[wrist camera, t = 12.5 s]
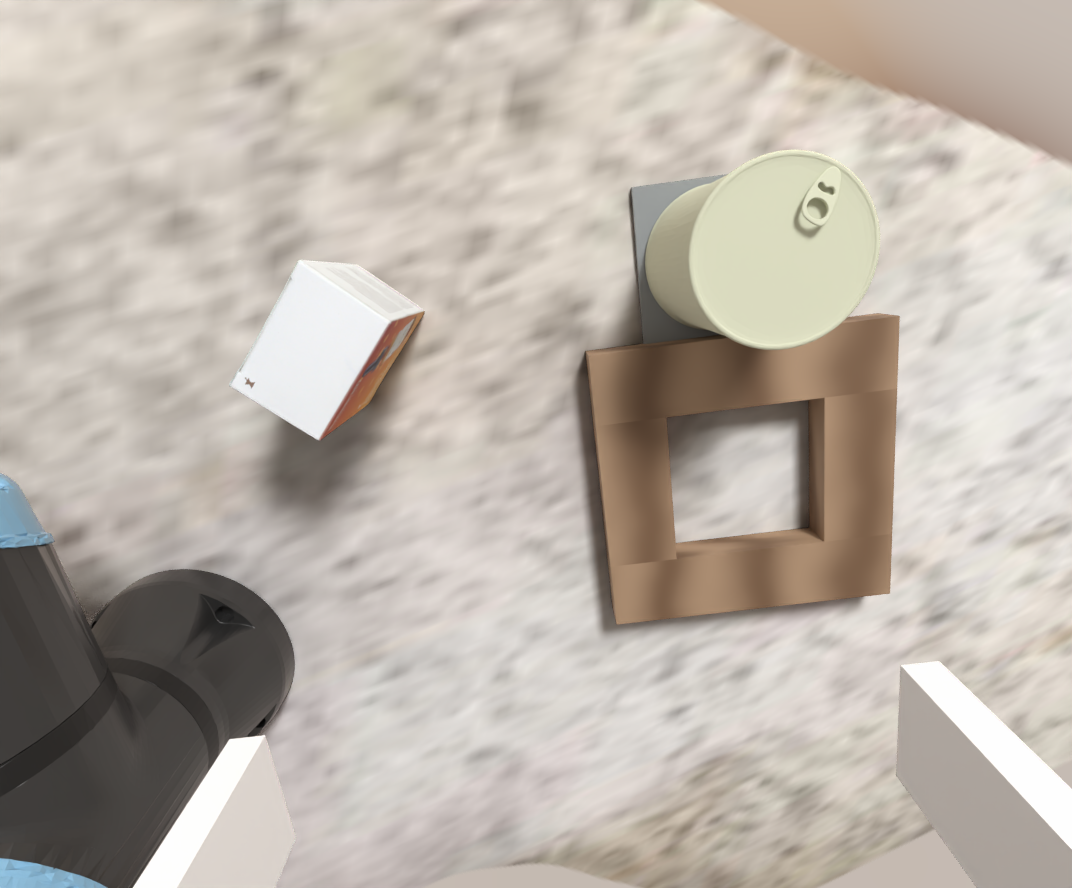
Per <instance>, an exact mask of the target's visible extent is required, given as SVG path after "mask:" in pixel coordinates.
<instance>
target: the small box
mask: <svg viewBox="0 0 1072 888" xmlns="http://www.w3.org/2000/svg"><path fill="white" fill-rule="evenodd" d="M424 312H425V311H424V310H423V309H422V308H421V307H419V306H418V305H416V304H415V303H414V302H412V301H411V300H409V299H408V298H406V297H405V296H403V295H402V294H400V293H399V292H397V291H396V290H394V289H393V288H391V287H390V286H389V285H387V284H386V283H384V282H383V281H381V280H380V279H378V278H377V277H375V276H374V275H372V274H371V273H369V272H368V271H366V270H365V269H363V268H362V267H360V266H359V265H357V264H345V263H335V262H321V261H308V260H298V261H297V263H296V265H295V267H294V269H293V271H292V273H291V276H290V278H289V280H288V282H287V284H286V286H285V288H284V290H283V291H282V293H281V295H280V297H279V299H278V301H277V302H276V304H275V306H274V308H273V310H272V312H271V313H270V315H269V317H268V319H267V321H266V323H265V324H264V326H263V328H262V330H261V332H260V333H259V335H258V337H257V339H256V341H255V342H254V344H253V346H252V348H251V350H250V351H249V353H248V355H247V356H246V358H245V360H244V362H243V363H242V365H241V367H240V368H239V370H238V371H237V373H236V374H235V376H234V377H233V379H232V381H231V382H230V384H229V386H230V387H232V388H233V389H235V390H237V391H238V392H240V393H242V394H243V395H245V396H246V397H248V398H250V399H251V400H253V401H254V402H256V403H258V404H259V405H261V406H262V407H264V408H266V409H267V410H269V411H271V412H272V413H274V414H276V415H277V416H279V417H280V418H282V419H284V420H285V421H287V422H289V423H290V424H292V425H293V426H295V427H297V428H298V429H300V430H302V431H303V432H305V433H307V434H308V435H310V436H312V437H313V438H315V439H316V440H319V441H320V440H322V439H323V438H324V437H325V436H327V435H328V434H329V433H331V432H332V431H333V430H335V429H336V428H337V427H339V426H340V425H341V424H343V423H344V422H346V421H347V420H348V419H349V418H351V417H352V416H354V415H355V414H356V413H358V412H359V411H360V410H362V409H363V408H364V407H365V406H367V405H368V404H369V403H370V401H371V399H372V398H373V396H374V394H375V392H376V391H377V389H378V387H379V385H380V384H381V382H382V380H383V379H384V377H385V375H386V374H387V372H388V370H389V369H390V367H391V366H392V364H393V362H394V361H395V359H396V358H397V356H398V354H399V353H400V351H401V350H402V348H403V347H404V345H405V343H406V342H407V340H408V339H409V337H410V335H411V334H412V332H413V330H414V329H415V327H416V326H417V324H418V322H419V321H420V319H421V318H422V316H423V314H424Z"/></svg>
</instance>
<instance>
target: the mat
mask: <svg viewBox="0 0 1072 888" xmlns="http://www.w3.org/2000/svg"><path fill="white" fill-rule="evenodd" d="M726 175H728V174H726ZM726 175H719V176H712V177H705V178H697V179H690V180H683V181H675V182H668V183H661V184H654V185H646V186H639V187H632V188H631V196H632V209H633V222H634V234H635V247H636V259H637V272H638V284H639V297H640V309H641V322H642V335H643V344H651V343H658V342H666V341H674V340H682V339H689V338H697V337H705V336H713V335H720V334H718V333H715V332H713V331H710V330H702V329H696V328H692V327H689V326H686V325H684V324H682V323H680V322H678V321H676V320H675V319H673V318H672V317H671V316H669V315H668V314H667V313H666V312H665V311H664V310H663V309H662V308H661V307H660V305H659V304H658V303H657V301H656V300H655V298H654V296H653V294H652V292H651V290H650V287H649V284H648V281H647V276H646V269H645V255H646V248H647V243H648V240H649V237H650V234H651V231H652V229H653V227H654V225H655V223H656V221H657V220H658V218H659V217H660V215H661V214H662V213H663V211H664V210H665V209H666V208H667V207H668V206H669V205H670V204H671V203H672V202H673V201H674V200H675V199H677V198H678V197H679V196H681V195H682V194H684V193H685V192H687V191H689V190H691V189H693V188H696V187H698V186H701V185H705V184H709V183H712V182H714V181H716V180H718V179H720V178H722V177H724V176H726Z"/></svg>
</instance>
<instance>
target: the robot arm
mask: <svg viewBox="0 0 1072 888" xmlns="http://www.w3.org/2000/svg"><path fill="white" fill-rule="evenodd" d="M53 542H55V541H54V538H53V537H52V535H51V534H50V533H46V532H45V531H44V529H43V527H42V526H41V524H40V522H39V521H38V519H37V517H36V515H35V514H34V512H33V510H32V508H31V506H30V504H29V503H28V501H27V499H26V497H25V495H24V493H23V492H22V490H21V489H20V487H19V486H18V485H17V484H16V483H15V482H14V481H13V480H12V479H11V478H9V477H8V476H6V475H4V474H2V473H0V888H275V887H276V885H277V883H278V880H279V878H280V875H281V873H282V871H283V868H284V866H285V864H286V861H287V859H288V856H289V854H290V852H291V849H292V847H293V845H294V842H295V840H296V835H295V832H294V829H293V825H292V822H291V819H290V815H289V812H288V809H287V805H286V802H285V799H284V796H283V792H282V789H281V786H280V782H279V779H278V776H277V772H276V769H275V766H274V762H273V759H272V756H271V752H270V749H269V746H268V742H267V739H266V736H265V735H263V736H256V735H258V734H259V733H260V732H261V731H262V730H263V729H264V728H265V727H266V726H267V725H268V724H269V722H270V721H271V720H272V719H273V717H274V716H275V714H276V713H277V711H278V709H279V708H280V706H281V704H282V703H283V701H284V699H285V697H286V696H287V694H288V692H289V689H290V687H291V684H292V680H293V675H294V653H293V648H292V644H291V641H290V638H289V636H288V633H287V631H286V629H285V627H284V625H283V624H282V622H281V620H280V619H279V617H278V616H277V615H276V613H275V612H274V611H273V610H272V609H271V607H270V606H269V605H268V604H267V603H266V602H265V601H264V600H262V599H261V598H260V597H259V596H258V595H256V594H255V593H254V592H252V591H251V590H249V589H248V588H246V587H245V586H243V585H241V584H239V583H237V582H235V581H233V580H231V579H229V578H226V577H224V576H221V575H217V574H214V573H210V572H205V571H199V570H187V569H180V570H169V571H163V572H158V573H155V574H152V575H149V576H146V577H144V578H142V579H140V580H138V581H136V582H135V583H133V584H131V585H130V586H129V587H127V588H126V589H125V590H123V591H122V592H121V593H120V594H118V595H117V596H116V597H114V598H113V599H112V600H111V601H110V602H108V603H107V604H106V605H105V606H104V607H103V608H102V609H101V611H100V612H99V613H98V614H97V615H96V617H95V618H94V620H93V621H92V623H91V625H90V626H89V624H88V622H87V620H86V617H85V615H84V613H83V611H82V609H81V606H80V604H79V602H78V600H77V598H76V595H75V593H74V591H73V589H72V587H71V585H70V582H69V580H68V578H67V576H66V574H65V571H64V569H63V567H62V565H61V563H60V560H59V558H58V556H57V554H56V552H55V549H54V547H53V545H52V543H53ZM896 776H897V777H898V779H899V780H900V782H901V783H902V784H903V786H904V787H905V788H906V790H907V791H908V793H909V794H910V795H911V797H912V798H913V800H914V801H915V802H916V804H917V805H918V807H919V808H920V809H921V811H922V812H923V814H924V815H925V816H926V818H927V819H928V821H929V822H930V823H931V825H932V826H933V828H934V829H935V830H936V832H937V833H938V835H939V836H940V837H941V839H942V840H943V841H944V843H945V844H946V846H947V847H948V848H949V850H950V851H951V853H952V854H953V855H954V857H955V858H956V860H957V861H958V862H959V864H960V865H961V867H962V868H963V869H964V871H965V872H966V874H967V875H968V876H969V878H970V879H971V880H972V882H973V883H974V885H975V886H976V887H977V888H1072V789H1071V788H1070V787H1069V786H1068V785H1067V784H1066V783H1065V782H1064V781H1063V780H1062V779H1061V778H1060V777H1059V776H1058V775H1057V774H1056V773H1055V772H1054V771H1053V770H1052V769H1050V768H1049V767H1048V766H1047V765H1046V764H1045V763H1044V762H1043V761H1042V760H1041V759H1040V758H1039V757H1038V756H1037V755H1036V754H1035V753H1034V752H1033V751H1032V750H1031V749H1030V748H1029V747H1028V746H1027V745H1026V744H1025V743H1024V742H1022V741H1021V740H1020V739H1019V738H1018V737H1017V736H1016V735H1015V734H1014V733H1013V732H1012V731H1011V730H1010V729H1009V728H1008V727H1007V726H1006V725H1005V724H1004V723H1003V722H1002V721H1001V720H1000V719H999V718H998V717H997V716H996V715H994V714H993V713H992V712H991V711H990V710H989V709H988V708H987V707H986V706H985V705H984V704H983V703H982V702H981V701H980V700H979V699H978V698H977V697H976V696H975V695H974V694H973V693H972V692H971V691H970V690H969V689H968V688H966V687H965V686H964V685H963V684H962V683H961V682H960V681H959V680H958V679H957V678H956V677H955V676H954V675H953V674H952V673H951V672H950V671H949V670H948V669H947V668H946V667H945V666H944V665H943V664H942V663H941V662H940V661H935V662H926V663H916V664H907V665H901V667H900V691H899V716H898V740H897V764H896Z"/></svg>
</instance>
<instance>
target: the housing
mask: <svg viewBox="0 0 1072 888" xmlns="http://www.w3.org/2000/svg"><path fill="white" fill-rule="evenodd" d="M899 317H900V316H896V315H888V314H880V313H877V314H869V315H862V316H854V317H847V318H846V319H845V320H844V321H843V322H842V323H841V324H840V325H839V326H837V327H836V328H835V329H833V330H832V331H830V332H829V333H828V334H826V335H824V336H822V337H821V338H819V339H817V340H815V341H813V342H810V343H807V344H805V345H802V346H798V347H795V348H790V349H783V350H763V349H757V348H752V347H748V346H745V345H742V344H739V343H737V342H735V341H733V340H731V339H730V338H728V337H726V336H724V335H721V334H720V335H713V336H705V337H697V338H689V339H682V340H674V341H666V342H658V343H651V344H637V345H629V346H621V347H613V348H606V349H598V350H590V351H585V352H586V362H587V371H588V381H589V390H590V400H591V409H592V418H593V428H594V437H595V447H596V456H597V466H598V475H599V485H600V494H601V503H602V513H603V522H604V532H605V541H606V551H607V560H608V570H609V579H610V588H611V598H612V607H613V611H614V616H615V620H616V624H626V623H635V622H644V621H652V620H661V619H670V618H679V617H687V616H696V615H705V614H714V613H723V612H731V611H740V610H749V609H758V608H767V607H775V606H784V605H793V604H802V603H810V602H819V601H828V600H837V599H846V598H854V597H863V596H872V595H881V594H889V593H890V578H891V549H892V520H893V491H894V462H895V433H896V404H897V375H898V346H899ZM802 400H808V425H809V528H801V529H792V530H784V531H775V532H767V533H758V534H750V535H741V536H733V537H724V538H716V539H707V540H699V541H690V542H682V543H675V530H674V516H673V502H672V488H671V474H670V460H669V446H668V432H667V418H666V417H674V416H682V415H690V414H698V413H706V412H714V411H722V410H730V409H738V408H746V407H754V406H762V405H770V404H778V403H786V402H794V401H802Z"/></svg>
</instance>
